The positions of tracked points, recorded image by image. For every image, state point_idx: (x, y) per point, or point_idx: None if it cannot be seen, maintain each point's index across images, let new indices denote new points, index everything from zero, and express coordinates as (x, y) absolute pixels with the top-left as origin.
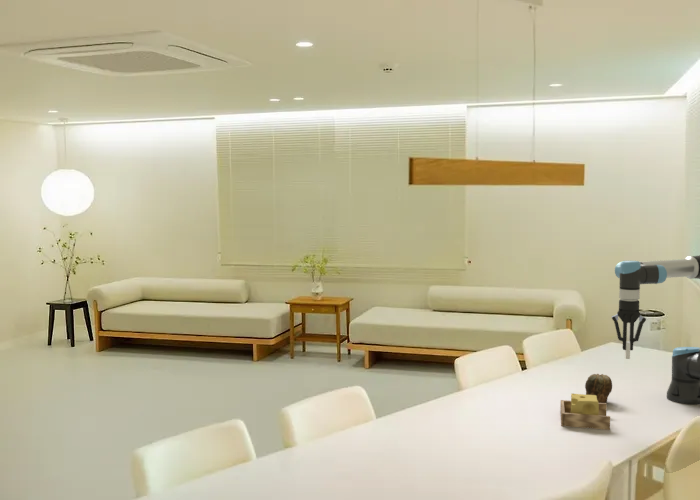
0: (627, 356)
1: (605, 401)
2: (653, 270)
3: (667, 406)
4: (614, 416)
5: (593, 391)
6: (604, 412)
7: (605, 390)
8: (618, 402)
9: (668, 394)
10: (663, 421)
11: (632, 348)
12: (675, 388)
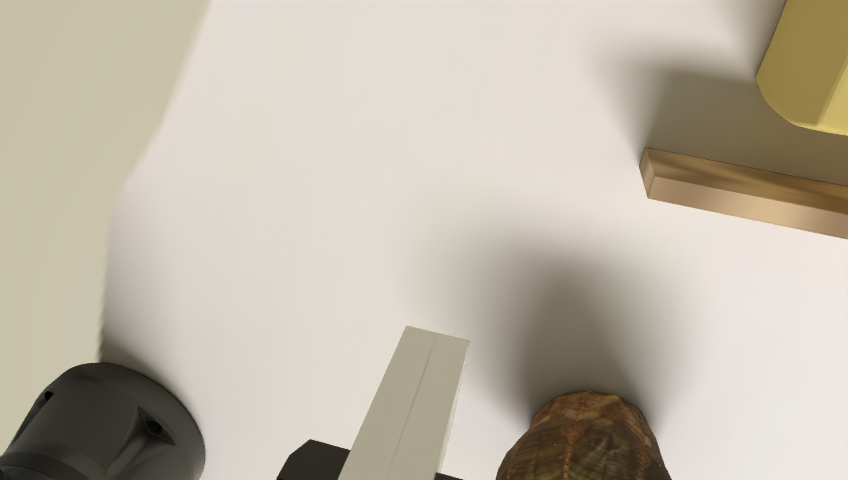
0: (436, 360)
1: (551, 401)
2: None
3: (223, 336)
4: (585, 147)
5: (642, 444)
6: (660, 158)
7: (560, 434)
8: (466, 407)
9: (188, 455)
10: (293, 63)
11: (294, 470)
12: (134, 460)
